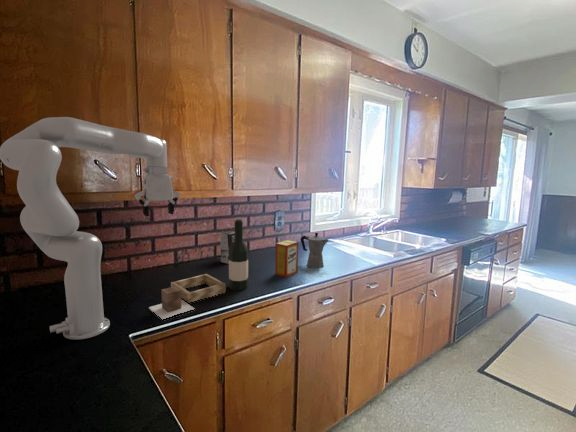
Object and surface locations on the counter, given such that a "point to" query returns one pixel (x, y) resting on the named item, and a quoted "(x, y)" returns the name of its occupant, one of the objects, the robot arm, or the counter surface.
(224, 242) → the coffee box
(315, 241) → the coffeepot
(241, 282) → the wine bottle
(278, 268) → the baking soda box
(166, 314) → the stone pad
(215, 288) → the oak frame
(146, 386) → the counter surface
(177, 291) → the walnut block
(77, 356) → the counter surface
